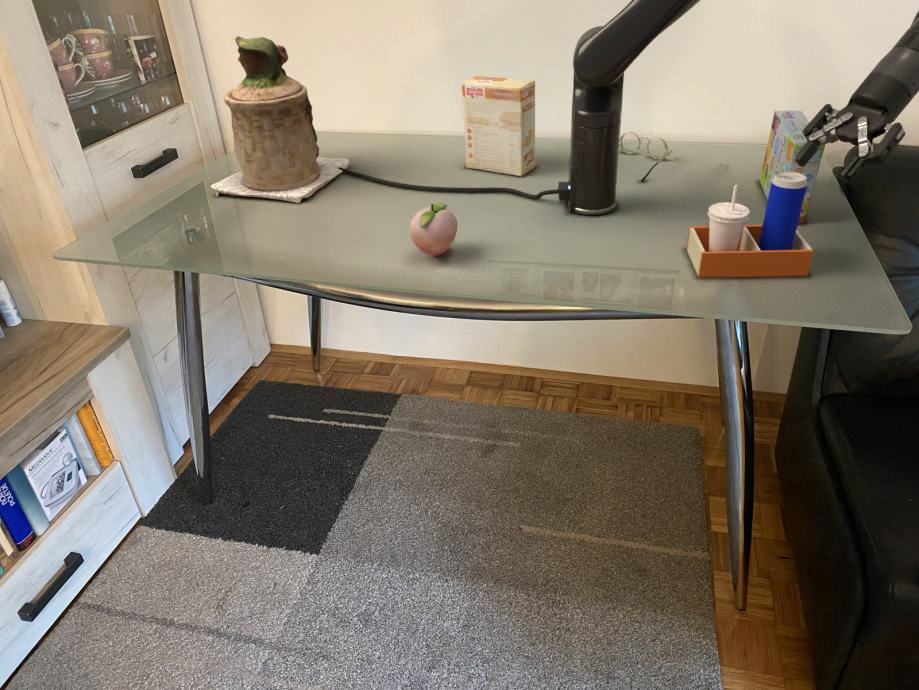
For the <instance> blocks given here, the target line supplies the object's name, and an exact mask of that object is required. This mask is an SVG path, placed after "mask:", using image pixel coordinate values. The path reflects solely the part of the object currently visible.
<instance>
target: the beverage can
mask: <svg viewBox="0 0 919 690" xmlns="http://www.w3.org/2000/svg"><path fill="white" fill-rule="evenodd" d="M806 188H807V178H806V176H805V175H803V174H801V173H797V172H791V171H785V172H779V173H777V174H776V175H775V176H774V178H773V180H772V182H771V187H770V192H769V197H768V200H767V202H766V207H765V212H764V217H763V221H762V225H763V226H762V230H761V235H760V240H759V245H758V247H759V248H760V250H761V251H766V250H792V246H793V242H794V238H795V234H796V230H798V225H799V223H798V221H799V217H800V213H801V209H802V204H803V200H804V196H805V192H806Z"/></svg>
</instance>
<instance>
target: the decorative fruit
mask: <svg viewBox="0 0 919 690" xmlns="http://www.w3.org/2000/svg"><path fill="white" fill-rule="evenodd" d="M447 207H448V205H447V204H446V203H444V202H435V203H431V204H430V206H429V207H424V208H422V209H420V210H419V211H417V213H415V215H414V216H413V217H412V219H411V221H410V224H409V235H410V239H411V241H412V243H413V244H414V245H415V246H416V247H417V248H418V249H419V251H420V252H422V253H424V254H426V255H429V256H439V255H440V256H441V255H443V254H444V253H445V252H446V251H448V249H449V248H450V247H451V245H452V244H453V242H454V241H455V238H456V236H457V232H458V227H459V225H458V224H459V223H458V219H457V217H456V216H455V215H454V213H453V212H452V211H451V210H450V209H447Z"/></svg>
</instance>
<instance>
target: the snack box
mask: <svg viewBox="0 0 919 690" xmlns="http://www.w3.org/2000/svg"><path fill="white" fill-rule="evenodd" d="M809 123H810V121H809V120H808V118H807V117H806V115H805V114H804V112H803V111H802V110H774V113H773V118H772V122H771V127H770V131H769V136H768V141H767V146H766V150H765V155H764V159H763V160H764V161H763V164H762V169H761V173H760V177H759V183H760V185H761V188H762V190H763V192H764V193H763V194H765V197H766V201H768V197H769V192H770V187H771V182H772V180H773V178H774V176H775V175H776V174H777V173H779V172H785V171H791V172H797V173H801V174H803V175H805V176H806V178H807V188H806V192H805V196H804V200H803V204H802V209H801V213H800V217H799V221H798V224H805V220H806V216H807V214H808V209H809V205H810V201H811V198H812V194H813V191H814V188H815V185H816V184H815V183H816V180H817V176H818V173H819V169H820V166H821V162H822V158H823V154H824V151H825V148H826V144H825V145H823V146H821V147H819V148H818V150H817V152H816V153H815V154H814V155H813V157H812V158H811V159H810V160H809V161H808V163H807V164H806V165H805V166H804V167H801V166H799V165H798V164H797V162H796V155H797V154H798V152H799V151H800V150H801V149H802V147H803V146H804V145H805V144H806V142H807V139H806V138H805V136H804V135H803V133H802V131H803V129H804V128H805V127H806V126H807V125H808V124H809ZM813 130H814V129H813ZM813 130H812V131H813ZM819 139H821V138H819Z"/></svg>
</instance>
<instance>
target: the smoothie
mask: <svg viewBox="0 0 919 690" xmlns="http://www.w3.org/2000/svg"><path fill="white" fill-rule="evenodd" d="M738 189H739V184H734V187H733V191H732V198H731V202H730V201H729V202H728V201H727V202H726V201H725V202H723V201H722V202H717V203H714V204H711V205H710V206H709V208H708V211H707V216H708V217H709V224H708V226H709V251H708V252H716V251H737V250H736V249H737V246H738V243H739V240H740V237H741V234H742V231H743V229H744V225H746V222H747V221H748V220H749V219H750V213H751V210H750V209H749V208H748V207H747V206H745V205H743V204H740V203H738V202H737V203H736V201H737V195H738Z"/></svg>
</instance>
